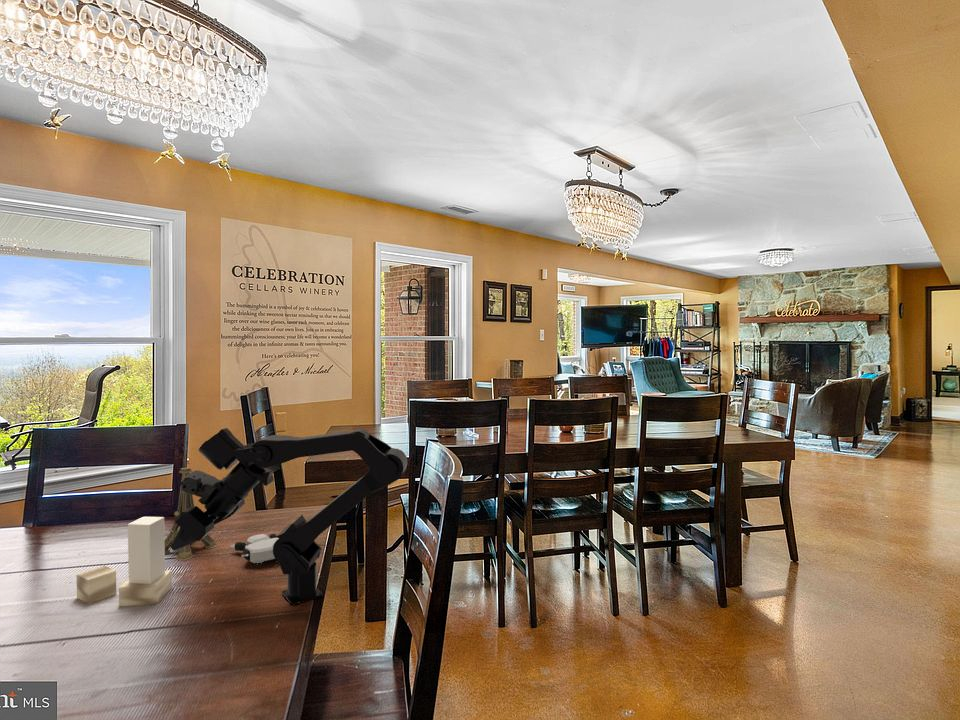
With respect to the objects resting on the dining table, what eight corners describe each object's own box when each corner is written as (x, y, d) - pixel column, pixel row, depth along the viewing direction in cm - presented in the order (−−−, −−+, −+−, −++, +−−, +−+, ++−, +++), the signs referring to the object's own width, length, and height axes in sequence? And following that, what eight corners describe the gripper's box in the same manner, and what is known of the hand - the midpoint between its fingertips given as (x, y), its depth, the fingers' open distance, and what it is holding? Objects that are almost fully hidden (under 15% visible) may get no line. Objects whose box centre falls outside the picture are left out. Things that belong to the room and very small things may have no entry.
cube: (116, 594, 108) (116, 570, 108) (88, 604, 104) (88, 579, 104) (104, 588, 111) (104, 565, 111) (76, 598, 106) (76, 574, 106)
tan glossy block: (171, 588, 111) (171, 570, 111) (157, 604, 104) (157, 584, 104) (135, 591, 110) (135, 572, 110) (119, 607, 103) (118, 587, 103)
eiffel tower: (184, 561, 125) (183, 457, 124) (151, 555, 128) (150, 454, 128) (219, 545, 135) (218, 449, 134) (188, 540, 138) (187, 446, 138)
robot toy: (227, 557, 130) (248, 572, 118) (227, 539, 130) (247, 552, 119) (277, 545, 138) (301, 557, 127) (276, 527, 138) (300, 539, 127)
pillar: (165, 573, 109) (164, 517, 109) (150, 583, 105) (149, 524, 104) (144, 573, 109) (143, 516, 109) (128, 583, 105) (127, 524, 104)
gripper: (228, 448, 116) (180, 498, 116) (182, 470, 97) (125, 530, 98) (265, 482, 117) (217, 532, 117) (227, 510, 98) (170, 570, 98)
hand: (185, 539), depth 107 cm, fingers open, 9 cm apart
